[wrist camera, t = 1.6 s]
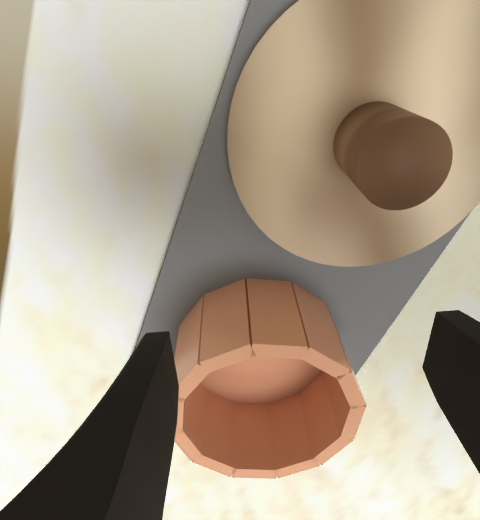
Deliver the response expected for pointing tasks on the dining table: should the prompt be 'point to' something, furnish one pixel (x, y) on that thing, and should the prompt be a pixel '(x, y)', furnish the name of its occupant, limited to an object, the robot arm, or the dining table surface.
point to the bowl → (263, 381)
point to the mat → (261, 246)
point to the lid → (360, 127)
